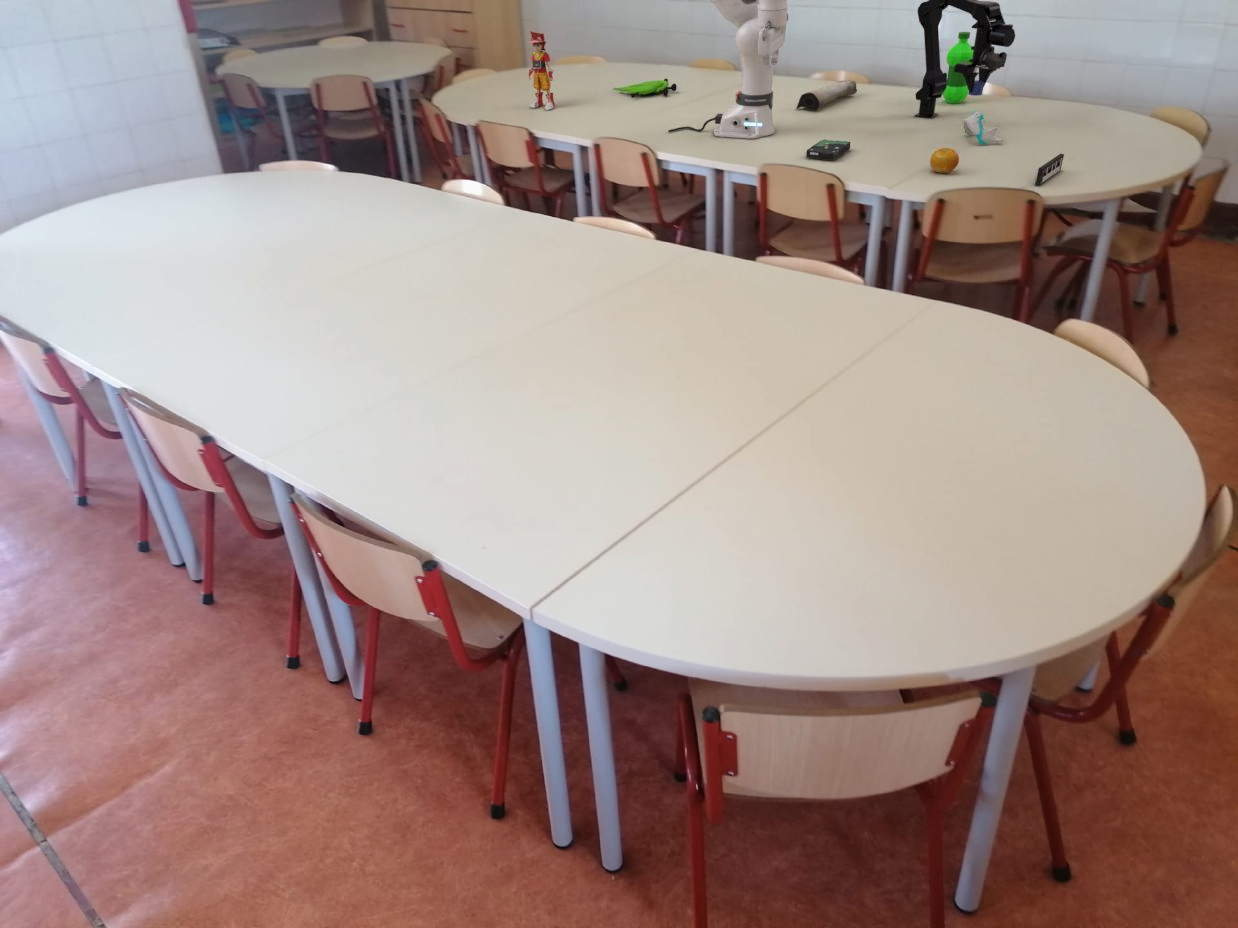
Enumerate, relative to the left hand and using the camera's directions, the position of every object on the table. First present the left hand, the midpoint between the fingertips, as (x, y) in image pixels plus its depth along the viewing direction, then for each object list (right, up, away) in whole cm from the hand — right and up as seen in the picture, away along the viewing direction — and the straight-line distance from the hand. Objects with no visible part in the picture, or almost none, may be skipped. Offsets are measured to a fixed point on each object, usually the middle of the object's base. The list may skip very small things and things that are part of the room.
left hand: (770, 67), depth 282 cm
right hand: (+79, +8, +37) cm, 88 cm away
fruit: (+55, -32, +3) cm, 64 cm away
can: (+80, +7, +37) cm, 88 cm away
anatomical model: (+77, -12, +29) cm, 83 cm away
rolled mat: (+37, +22, +82) cm, 93 cm away
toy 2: (-38, +40, +115) cm, 127 cm away
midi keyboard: (+84, -37, -8) cm, 92 cm away
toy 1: (-80, +27, +101) cm, 132 cm away
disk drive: (+24, -19, +24) cm, 39 cm away
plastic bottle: (+85, +18, +73) cm, 113 cm away
